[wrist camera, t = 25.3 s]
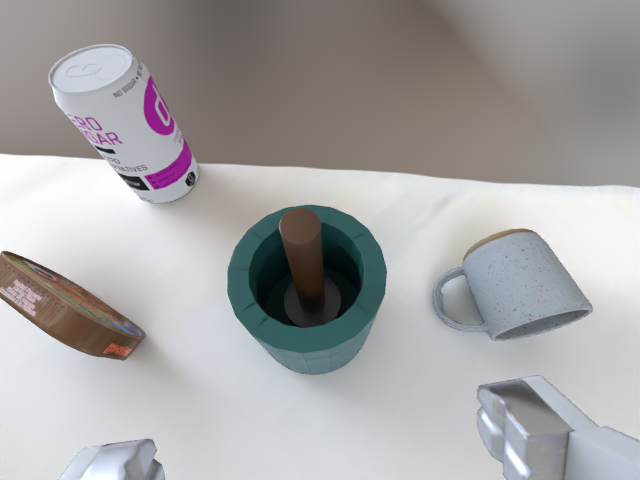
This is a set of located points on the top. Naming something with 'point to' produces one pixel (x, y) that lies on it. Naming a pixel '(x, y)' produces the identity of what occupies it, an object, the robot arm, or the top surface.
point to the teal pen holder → (275, 276)
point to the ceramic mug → (516, 287)
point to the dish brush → (307, 272)
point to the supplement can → (125, 120)
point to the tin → (66, 309)
